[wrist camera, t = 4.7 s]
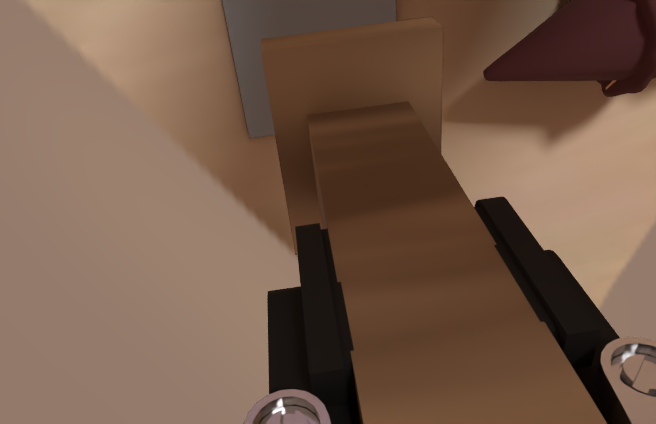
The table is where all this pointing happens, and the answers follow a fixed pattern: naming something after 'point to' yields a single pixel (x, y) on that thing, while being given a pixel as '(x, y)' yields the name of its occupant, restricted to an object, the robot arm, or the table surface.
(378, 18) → the mat
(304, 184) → the wooden post with base
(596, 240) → the table surface
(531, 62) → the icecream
